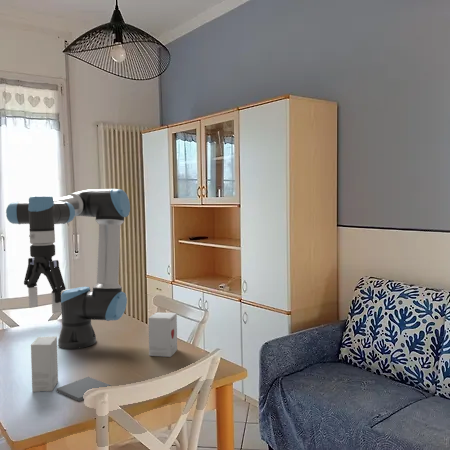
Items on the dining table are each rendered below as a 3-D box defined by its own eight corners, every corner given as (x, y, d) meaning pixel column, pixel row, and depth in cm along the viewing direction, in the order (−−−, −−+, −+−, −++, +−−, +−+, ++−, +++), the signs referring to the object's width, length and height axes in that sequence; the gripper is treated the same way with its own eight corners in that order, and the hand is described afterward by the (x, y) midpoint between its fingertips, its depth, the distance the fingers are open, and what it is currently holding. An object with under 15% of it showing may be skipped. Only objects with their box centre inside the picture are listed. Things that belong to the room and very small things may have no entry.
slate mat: (56, 391, 153) (56, 388, 153) (88, 379, 162) (88, 376, 162) (78, 401, 145) (78, 398, 145) (111, 388, 154) (110, 385, 154)
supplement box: (171, 357, 182) (170, 318, 181) (148, 356, 184) (147, 317, 183) (178, 349, 191) (177, 312, 190) (156, 348, 193) (155, 311, 192)
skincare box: (39, 382, 160) (37, 336, 159) (59, 381, 161) (58, 335, 160) (31, 392, 152) (29, 344, 151) (53, 391, 152) (51, 343, 151)
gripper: (11, 243, 159) (13, 306, 160) (54, 247, 143) (56, 317, 145) (32, 241, 165) (34, 302, 166) (75, 245, 149) (77, 312, 150)
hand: (44, 309), depth 155 cm, fingers open, 13 cm apart
